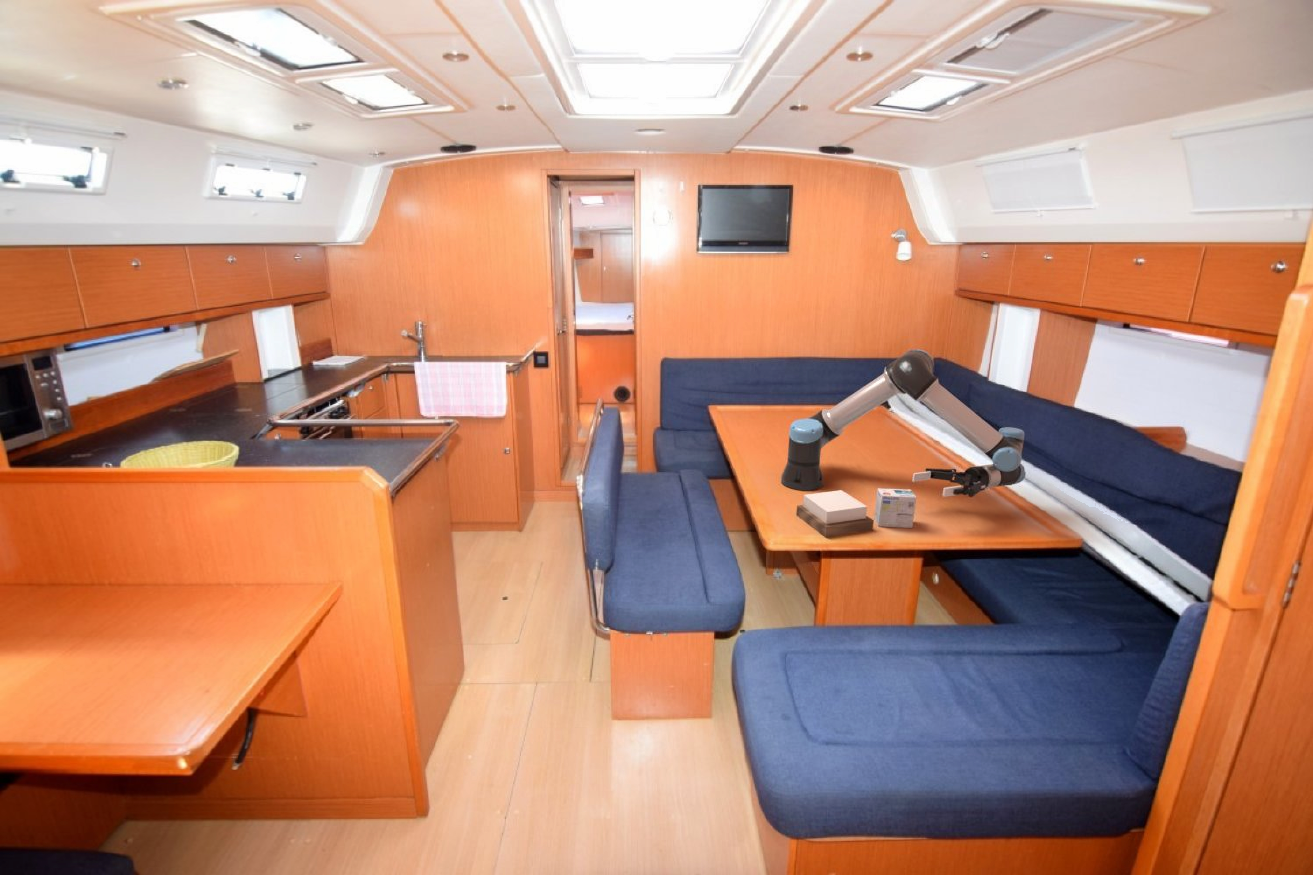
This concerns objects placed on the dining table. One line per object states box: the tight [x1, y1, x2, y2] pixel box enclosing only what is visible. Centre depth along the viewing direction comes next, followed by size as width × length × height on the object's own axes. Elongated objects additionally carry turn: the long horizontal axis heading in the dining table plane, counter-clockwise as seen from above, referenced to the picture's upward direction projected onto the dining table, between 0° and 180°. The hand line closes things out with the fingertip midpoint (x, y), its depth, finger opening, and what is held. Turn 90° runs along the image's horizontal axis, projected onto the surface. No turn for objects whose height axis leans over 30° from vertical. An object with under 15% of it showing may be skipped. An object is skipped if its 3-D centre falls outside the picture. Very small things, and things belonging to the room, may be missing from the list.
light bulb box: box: [873, 487, 917, 529], centre depth 195 cm, size 11×7×11 cm, turn 84°
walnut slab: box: [796, 504, 875, 538], centre depth 196 cm, size 17×17×4 cm
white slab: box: [802, 489, 868, 524], centre depth 196 cm, size 14×14×4 cm
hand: (928, 484), depth 196 cm, fingers open, 13 cm apart
